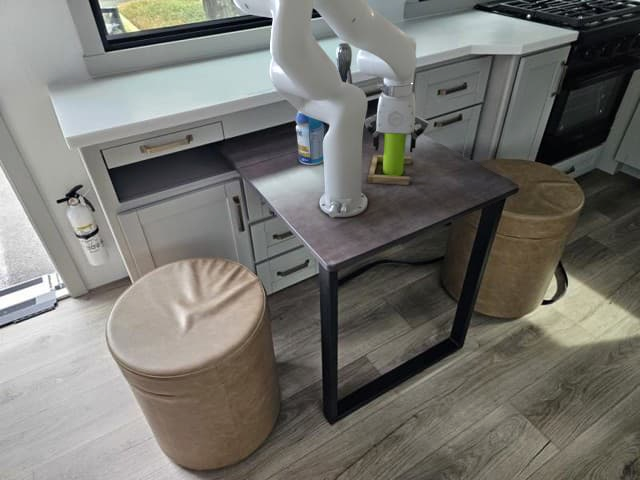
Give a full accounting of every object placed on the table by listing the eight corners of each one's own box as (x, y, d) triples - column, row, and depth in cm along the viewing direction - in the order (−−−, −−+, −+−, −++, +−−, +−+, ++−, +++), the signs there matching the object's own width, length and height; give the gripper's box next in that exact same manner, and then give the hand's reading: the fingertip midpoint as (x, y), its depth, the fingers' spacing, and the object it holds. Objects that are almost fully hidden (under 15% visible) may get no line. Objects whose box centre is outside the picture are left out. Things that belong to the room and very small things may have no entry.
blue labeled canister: (324, 165, 131) (321, 101, 119) (297, 166, 132) (291, 102, 120) (326, 153, 138) (323, 91, 126) (300, 153, 139) (294, 92, 126)
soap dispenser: (401, 179, 123) (407, 111, 110) (379, 174, 126) (382, 107, 113) (409, 170, 127) (415, 103, 114) (387, 165, 130) (390, 100, 117)
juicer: (355, 129, 151) (355, 38, 133) (354, 143, 143) (354, 47, 124) (327, 129, 152) (324, 39, 134) (324, 143, 144) (321, 48, 125)
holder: (408, 185, 120) (409, 178, 119) (368, 182, 122) (368, 176, 121) (410, 162, 131) (411, 156, 129) (373, 160, 133) (373, 154, 132)
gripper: (362, 93, 110) (362, 153, 121) (431, 94, 107) (424, 157, 117) (366, 83, 116) (365, 142, 126) (432, 85, 113) (425, 145, 123)
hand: (394, 149), depth 122 cm, fingers open, 9 cm apart
